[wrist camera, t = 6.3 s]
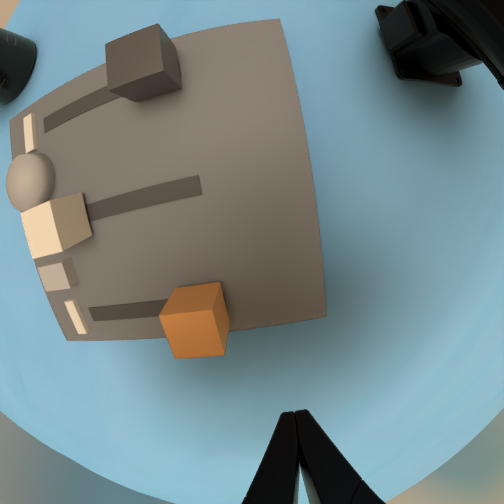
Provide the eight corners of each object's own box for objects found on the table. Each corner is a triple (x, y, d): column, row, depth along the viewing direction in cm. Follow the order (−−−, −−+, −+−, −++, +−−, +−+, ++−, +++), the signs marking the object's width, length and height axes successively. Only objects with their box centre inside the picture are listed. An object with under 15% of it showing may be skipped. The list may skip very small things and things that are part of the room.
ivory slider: (81, 192, 15) (49, 200, 12) (92, 235, 16) (62, 251, 13) (52, 203, 16) (20, 213, 12) (62, 243, 17) (32, 259, 13)
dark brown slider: (175, 47, 13) (158, 23, 9) (181, 88, 14) (163, 70, 10) (130, 62, 13) (105, 44, 10) (135, 102, 14) (108, 90, 10)
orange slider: (219, 281, 17) (212, 309, 14) (229, 322, 18) (224, 354, 15) (175, 287, 17) (158, 315, 14) (187, 327, 18) (175, 358, 15)
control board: (277, 28, 14) (282, 3, 10) (321, 306, 20) (333, 332, 16) (20, 121, 15) (-7, 120, 12) (74, 332, 21) (55, 352, 18)
